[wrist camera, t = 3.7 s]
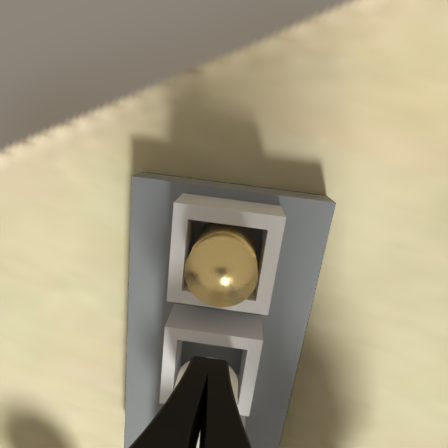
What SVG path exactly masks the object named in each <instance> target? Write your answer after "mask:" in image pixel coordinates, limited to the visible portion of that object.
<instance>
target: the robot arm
mask: <svg viewBox="0 0 448 448" xmlns="http://www.w3.org/2000/svg"><path fill="white" fill-rule="evenodd" d="M199 433H200V443H199V448H252V447H251V444H250V442H249V439H248V437H247V434H246V431H245V428H244V426H243V423H242V420H241V417H240V414H239V410H238V407H237V404H236V400H235V397H234V393H233V388H232V384H231V379H230V373H229V363H228V362H227V361H226V360H220V359H213V358H207V357H200V356H193V357H192V358H191V360H190V362H189V364H188V366H187V368H186V370H185V372H184V374H183V376H182V377H181V379H180V381H179V383H178V384H177V386H176V387H175V389H174V390H173V392H172V393H171V395H170V396H169V398H168V399H167V401H166V402H165V404H164V405H163V406H162V408H161V409H160V410H159V412H158V413H157V414H156V416H155V417H154V418H153V420H152V421H151V422H150V423H149V425H148V426H147V427H146V428H145V430H144V431H143V432H142V433H141V434H140V435H139V437H138V438H137V439H136V440H135V441H134V442H133V443H132V445H131V446H130V447H129V448H196V446H197V442H198V438H199Z"/></svg>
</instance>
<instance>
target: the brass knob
mask: <svg viewBox="0 0 448 448" xmlns="http://www.w3.org/2000/svg"><path fill="white" fill-rule="evenodd" d="M184 276H185V281H186V284H187V286H188V288H189V290H190V291H191V293H192V294H193V295H194V296H195V297H196V298H197V299H198V300H200V301H201V302H203V303H205V304H207V305H210V306H214V307H231V306H234V305H237V304H239V303H241V302H243V301H244V300H246V299H247V298H248V297H249V296H250V295H251V294H252V292H253V291H254V289H255V287H256V284H257V280H258V269H257V259H256V249H255V240H254V237H253V234H252V232H251V231H250V229H249V228H248V227H242V226H235V225H227V224H219V223H212V222H208V223H207V224H206V225H205V226H204V227H203V228H202V229H201V231H200V232H199V235H198V237H197V239H196V241H195V243H194V246H193V248H192V250H191V252H190V255H189V257H188V259H187V261H186V264H185V270H184Z"/></svg>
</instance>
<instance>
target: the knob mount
mask: <svg viewBox="0 0 448 448" xmlns="http://www.w3.org/2000/svg"><path fill="white" fill-rule="evenodd" d="M335 204H336V203H335V202H334V201H333V200H332V199H330V198H329V197H328V196H324V195H316V194H309V193H301V192H293V191H285V190H278V189H270V188H262V187H254V186H247V185H239V184H231V183H223V182H216V181H208V180H200V179H192V178H185V177H177V176H169V175H161V174H154V173H146V172H142V173H139V174H137V175H134V176H132V188H131V223H130V258H129V294H128V329H127V364H126V400H125V435H124V448H129V447H130V446H131V445H132V443H133V442H134V441H135V440H136V439H137V438H138V437H139V435H140V434H141V433H142V432H143V431H144V430H145V428H146V427H147V426H148V425H149V423H150V422H151V421H152V420H153V418H154V417H155V416H156V414H157V413H158V412H159V410H160V409H161V408H162V406H163V405H164V404H165V402H166V401H167V399H168V398H169V396H170V395H171V393H172V392H173V390H174V387H175V383H176V380H177V376H178V373H179V371H180V369H181V367H182V366H183V365H184V364H185V363H187V362H188V361H190V360H191V358H192V357H193V356H200V357H211V358H215V359H220V360H226V361H227V362H228V363H229V366H230V367H231V368H232V369H233V371H234V372H235V374H236V376H237V380H238V402H237V407H238V410H239V414H240V417H241V420H242V423H243V426H244V428H245V431H246V434H247V437H248V439H249V442H250V444H251V447H252V448H278V447H279V443H280V439H281V434H282V430H283V426H284V422H285V417H286V413H287V409H288V405H289V400H290V396H291V392H292V388H293V383H294V379H295V375H296V370H297V366H298V362H299V358H300V353H301V349H302V345H303V341H304V336H305V332H306V328H307V324H308V319H309V315H310V311H311V306H312V302H313V298H314V294H315V289H316V285H317V281H318V277H319V272H320V268H321V264H322V259H323V255H324V251H325V247H326V242H327V238H328V234H329V230H330V225H331V221H332V217H333V213H334V208H335ZM208 222H212V223H219V224H227V225H235V226H242V227H248V228H249V229H250V231H251V232H252V234H253V237H254V240H255V249H256V259H257V269H258V280H257V284H256V287H255V289H254V291H253V292H252V294H251V295H250V296H249V297H248V298H247V299H246V300H244V301H243V302H241V303H239V304H237V305H234V306H231V307H214V306H210V305H207V304H205V303H203V302H201V301H200V300H198V299H197V298H196V297H195V296H194V295H193V294H192V293H191V291H190V290H189V288H188V286H187V284H186V281H185V276H184V270H185V264H186V261H187V259H188V257H189V255H190V252H191V250H192V248H193V246H194V243H195V241H196V239H197V237H198V235H199V232H200V231H201V229H202V228H203V227H204V226H205V225H206V224H207V223H208Z"/></svg>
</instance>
